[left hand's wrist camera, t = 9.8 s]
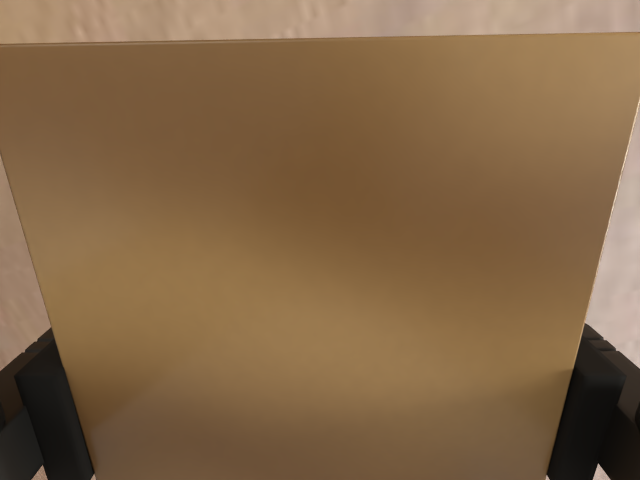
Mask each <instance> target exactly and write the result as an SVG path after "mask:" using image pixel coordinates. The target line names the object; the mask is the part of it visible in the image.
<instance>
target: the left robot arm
mask: <svg viewBox="0 0 640 480" xmlns="http://www.w3.org/2000/svg"><path fill="white" fill-rule="evenodd" d="M598 463H599V465H600V466H601V467H602V469H603V470H604V471H605V473H606V474H607V475H608V477H609V478H610V479H611V480H640V369H639V368H638V367H637V366H636V365H635V364H633V363H632V362H631V361H630V360H629V359H628V358H626V357H625V356H624V355H623V354H622V353H621V352H619V351H616V348H615V347H614V346H612V345H611V344H610V343H609V342H608V341H607V340H604V339H603V337H602V336H601V335H600V334H598V333H597V332H596V331H595V330H594V329H593V328H591V327H590V326H589V325H587V324H584V328H583V332H582V336H581V340H580V344H579V348H578V352H577V356H576V360H575V364H574V368H573V372H572V376H571V380H570V384H569V388H568V392H567V396H566V400H565V404H564V408H563V411H562V415H561V419H560V423H559V427H558V431H557V435H556V439H555V443H554V447H553V451H552V455H551V459H550V463H549V467H548V471H547V476H548V477H549V479H550V480H593V477H594V474H595V471H596V468H597V465H598ZM42 465H43V467H44V470H45V473H46V476H47V479H48V480H91V478H92V476H93V475H94V470H93V467H92V463H91V460H90V456H89V453H88V450H87V446H86V443H85V439H84V436H83V433H82V429H81V426H80V422H79V419H78V416H77V412H76V409H75V405H74V402H73V398H72V395H71V391H70V387H69V384H68V380H67V377H66V373H65V370H64V367H63V365H62V361H61V358H60V355H59V351H58V348H57V344H56V341H55V338H54V334H53V331H52V327H51V328H50V329H49V330H48V331H46V332H45V333H44V334H43V335H42V336H41V337H39V338H38V340H37V342H34V343H33V344H31V345H30V346H29V347H28V348H27V349H26V350H25V353H21V354H20V355H19V356H17V357H16V358H15V359H14V360H13V361H12V362H10V363H9V364H8V365H7V366H6V367H5V368H4V369H2V370H1V371H0V480H31V479H32V478H33V477H34V475H35V474H36V473H37V471H38V470H39V469H40V467H41V466H42Z"/></svg>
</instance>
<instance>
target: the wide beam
mask: <svg viewBox="0 0 640 480" xmlns="http://www.w3.org/2000/svg"><path fill="white" fill-rule="evenodd" d="M639 105H640V32H613V33H560V34H506V35H453V36H400V37H347V38H294V39H241V40H187V41H134V42H81V43H28V44H0V154H1V158H2V161H3V165H4V168H5V171H6V175H7V178H8V181H9V185H10V188H11V192H12V195H13V198H14V202H15V205H16V209H17V212H18V215H19V219H20V222H21V226H22V229H23V232H24V236H25V239H26V243H27V246H28V249H29V253H30V256H31V260H32V263H33V266H34V270H35V273H36V277H37V280H38V283H39V287H40V290H41V294H42V297H43V300H44V304H45V307H46V310H47V314H48V317H49V321H50V324H51V327H52V331H53V334H54V338H55V341H56V344H57V348H58V351H59V355H60V358H61V361H62V365H63V367H64V370H65V373H66V377H67V380H68V384H69V387H70V391H71V395H72V398H73V402H74V405H75V409H76V412H77V416H78V419H79V422H80V426H81V429H82V433H83V436H84V439H85V443H86V446H87V450H88V453H89V456H90V460H91V463H92V467H93V470H94V473H95V477H96V480H545V479H546V475H547V471H548V467H549V463H550V459H551V455H552V451H553V447H554V443H555V439H556V435H557V431H558V427H559V423H560V419H561V415H562V411H563V408H564V404H565V400H566V396H567V392H568V388H569V384H570V380H571V376H572V372H573V368H574V364H575V360H576V356H577V352H578V348H579V344H580V340H581V336H582V332H583V328H584V324H585V320H586V316H587V312H588V308H589V304H590V300H591V296H592V292H593V288H594V284H595V280H596V276H597V272H598V268H599V264H600V260H601V256H602V253H603V249H604V245H605V241H606V237H607V233H608V229H609V225H610V221H611V217H612V213H613V209H614V205H615V201H616V197H617V193H618V189H619V185H620V181H621V177H622V173H623V169H624V165H625V161H626V157H627V153H628V149H629V145H630V141H631V137H632V133H633V129H634V125H635V121H636V117H637V113H638V109H639Z"/></svg>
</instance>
